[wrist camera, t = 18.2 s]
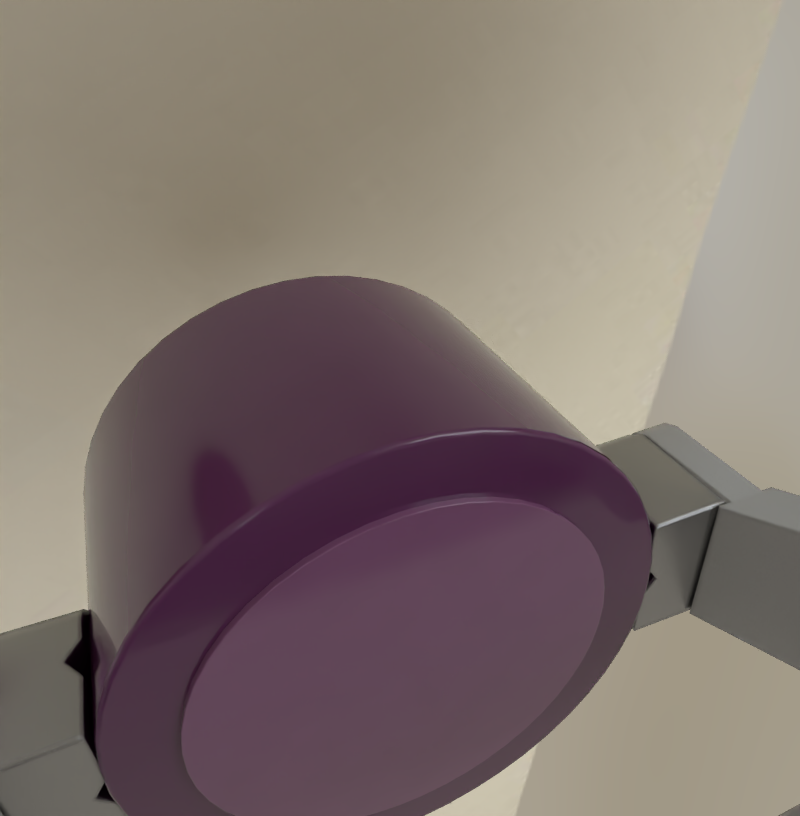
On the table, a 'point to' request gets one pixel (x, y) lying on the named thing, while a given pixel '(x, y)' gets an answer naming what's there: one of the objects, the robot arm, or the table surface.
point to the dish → (342, 560)
